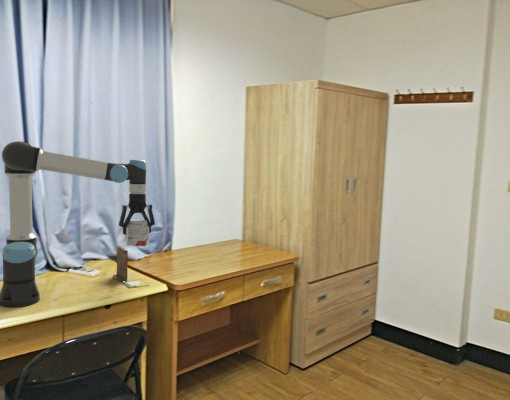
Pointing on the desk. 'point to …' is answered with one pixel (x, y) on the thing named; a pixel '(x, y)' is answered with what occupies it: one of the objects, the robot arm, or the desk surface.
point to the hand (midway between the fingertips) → (136, 240)
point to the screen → (121, 264)
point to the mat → (132, 283)
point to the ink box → (137, 233)
